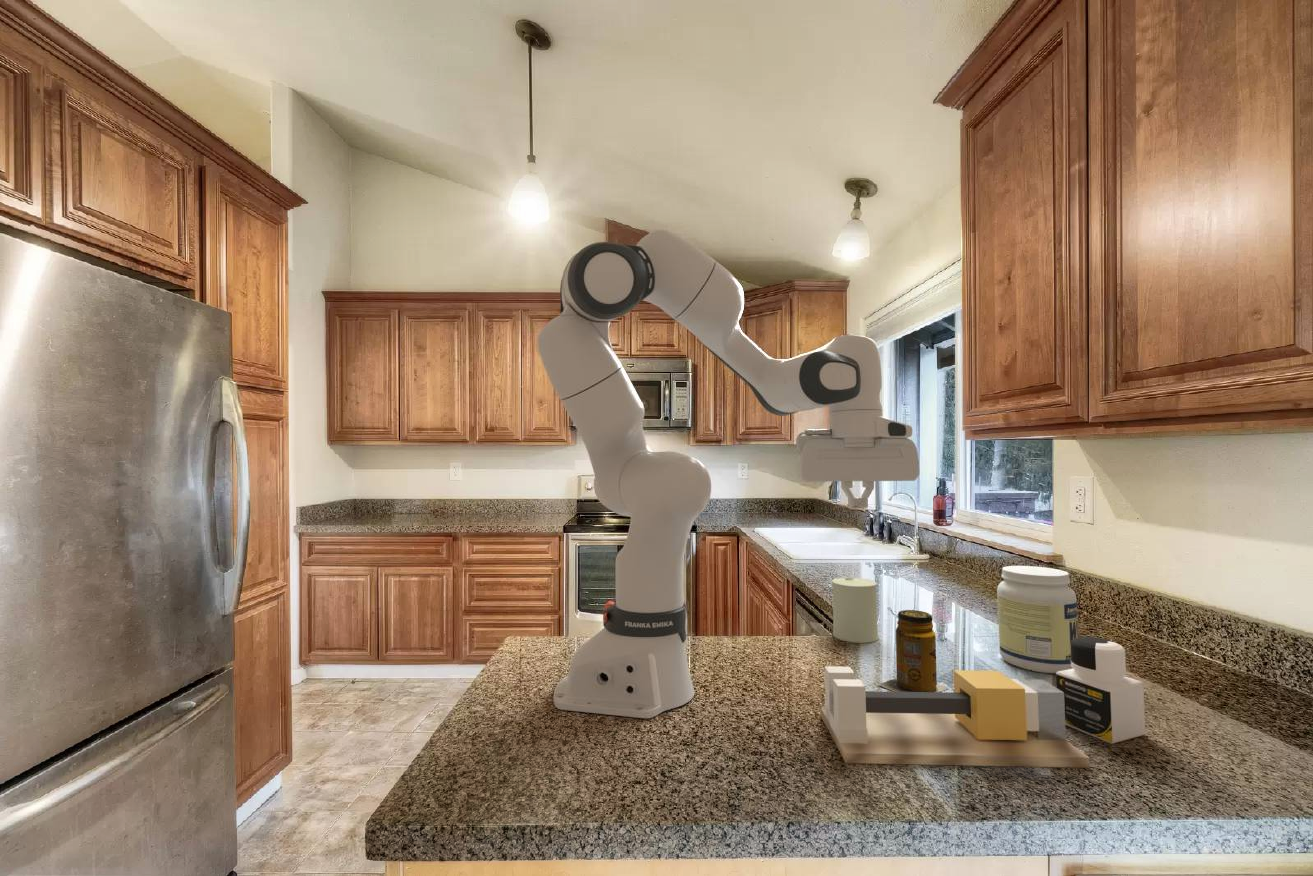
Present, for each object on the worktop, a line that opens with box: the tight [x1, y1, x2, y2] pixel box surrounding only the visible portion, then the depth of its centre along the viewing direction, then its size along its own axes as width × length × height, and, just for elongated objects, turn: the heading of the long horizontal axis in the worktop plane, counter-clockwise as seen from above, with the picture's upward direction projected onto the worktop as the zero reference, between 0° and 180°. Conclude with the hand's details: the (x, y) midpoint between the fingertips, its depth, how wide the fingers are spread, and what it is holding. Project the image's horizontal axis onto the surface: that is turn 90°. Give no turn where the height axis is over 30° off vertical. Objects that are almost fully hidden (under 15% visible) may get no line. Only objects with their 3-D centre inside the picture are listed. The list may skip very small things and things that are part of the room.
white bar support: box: [824, 665, 868, 744], centre depth 77 cm, size 4×8×7 cm, turn 177°
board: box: [820, 707, 1091, 769], centre depth 76 cm, size 29×13×1 cm, turn 87°
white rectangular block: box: [1010, 678, 1039, 731], centre depth 76 cm, size 2×5×5 cm, turn 177°
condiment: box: [877, 609, 949, 692], centre depth 94 cm, size 7×8×12 cm
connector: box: [1016, 678, 1067, 741], centre depth 76 cm, size 3×4×6 cm
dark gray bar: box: [833, 690, 971, 714], centre depth 77 cm, size 26×2×2 cm, turn 87°
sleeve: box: [953, 669, 1027, 740], centre depth 76 cm, size 6×6×6 cm
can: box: [831, 577, 880, 644], centre depth 122 cm, size 9×9×12 cm
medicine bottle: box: [1055, 636, 1146, 745], centre depth 79 cm, size 7×7×12 cm
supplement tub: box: [996, 565, 1079, 674], centre depth 105 cm, size 12×12×17 cm
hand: (858, 507), depth 100 cm, fingers closed
